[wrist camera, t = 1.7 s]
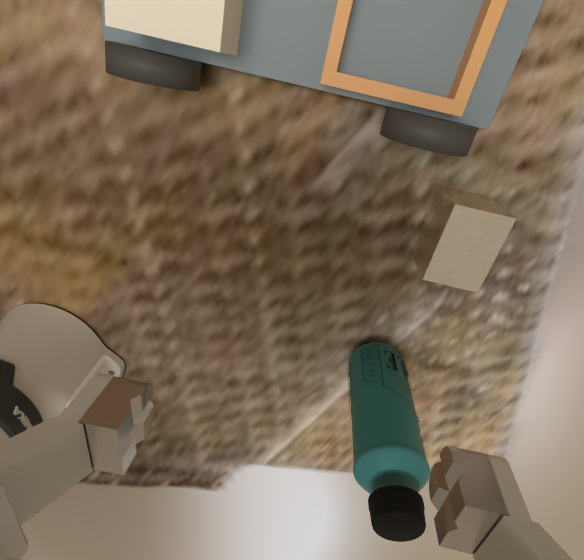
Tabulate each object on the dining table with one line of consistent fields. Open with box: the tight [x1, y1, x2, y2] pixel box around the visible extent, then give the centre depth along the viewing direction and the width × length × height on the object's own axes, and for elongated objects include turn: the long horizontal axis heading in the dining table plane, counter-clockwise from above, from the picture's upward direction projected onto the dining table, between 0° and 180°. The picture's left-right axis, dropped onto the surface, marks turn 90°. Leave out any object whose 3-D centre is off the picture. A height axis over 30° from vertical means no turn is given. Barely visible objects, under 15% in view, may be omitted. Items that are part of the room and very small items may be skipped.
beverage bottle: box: [348, 342, 430, 542], centre depth 36 cm, size 6×7×20 cm
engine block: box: [411, 185, 516, 293], centre depth 34 cm, size 7×5×6 cm
